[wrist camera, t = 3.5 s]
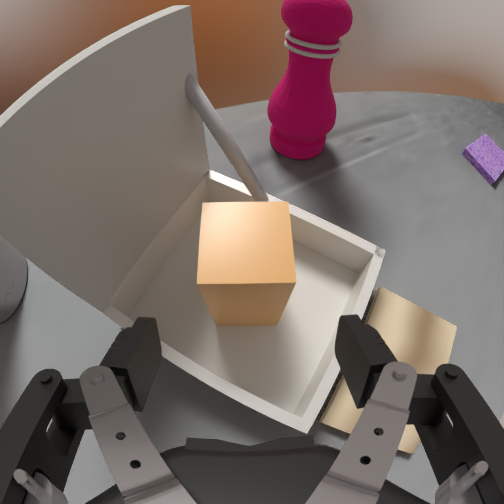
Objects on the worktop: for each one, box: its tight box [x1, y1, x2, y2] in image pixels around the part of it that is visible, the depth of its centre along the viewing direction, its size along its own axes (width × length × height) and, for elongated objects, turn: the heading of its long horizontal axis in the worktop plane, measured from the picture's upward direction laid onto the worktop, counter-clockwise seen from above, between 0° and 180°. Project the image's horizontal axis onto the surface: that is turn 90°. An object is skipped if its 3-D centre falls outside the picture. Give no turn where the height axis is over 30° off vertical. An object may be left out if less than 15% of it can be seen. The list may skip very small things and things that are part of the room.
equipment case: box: [0, 6, 386, 434], centre depth 15 cm, size 17×14×18 cm
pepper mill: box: [268, 0, 352, 160], centre depth 22 cm, size 7×7×20 cm
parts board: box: [319, 287, 457, 454], centre depth 20 cm, size 9×12×1 cm
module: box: [197, 202, 296, 326], centre depth 18 cm, size 4×4×9 cm
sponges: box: [462, 133, 504, 185], centre depth 33 cm, size 7×13×2 cm, turn 123°
